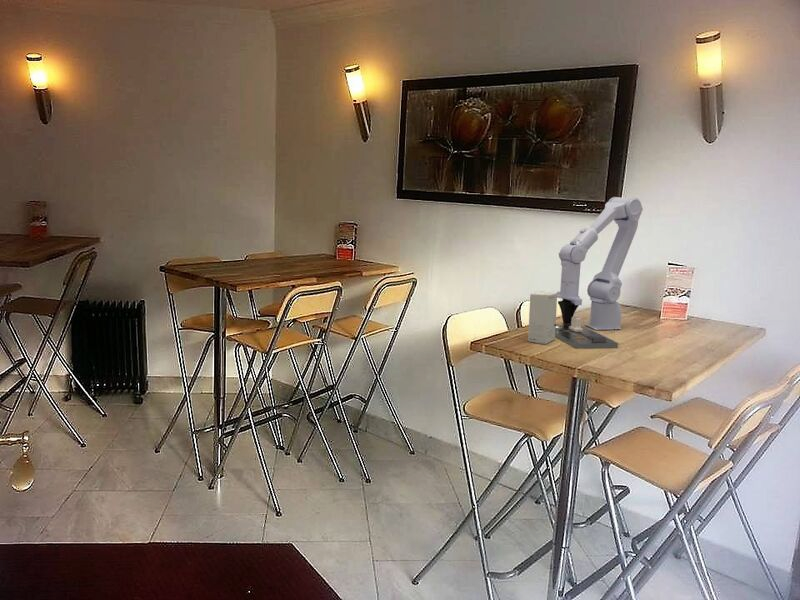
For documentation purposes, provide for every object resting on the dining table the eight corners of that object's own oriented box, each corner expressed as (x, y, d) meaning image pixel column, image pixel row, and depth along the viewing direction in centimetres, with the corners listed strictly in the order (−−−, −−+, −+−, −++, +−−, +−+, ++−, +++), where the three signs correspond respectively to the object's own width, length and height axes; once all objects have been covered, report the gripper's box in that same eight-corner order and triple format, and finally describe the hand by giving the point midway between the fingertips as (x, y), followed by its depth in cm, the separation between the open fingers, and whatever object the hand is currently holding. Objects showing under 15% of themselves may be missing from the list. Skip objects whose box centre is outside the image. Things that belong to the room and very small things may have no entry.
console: (582, 330, 196) (583, 322, 195) (617, 347, 174) (618, 338, 174) (545, 331, 193) (545, 322, 193) (576, 348, 172) (576, 338, 172)
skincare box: (545, 345, 176) (549, 295, 173) (526, 341, 179) (529, 293, 176) (555, 339, 183) (558, 291, 180) (536, 336, 186) (539, 289, 183)
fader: (576, 328, 191) (577, 316, 190) (582, 331, 187) (583, 318, 186) (568, 328, 191) (569, 316, 190) (575, 331, 186) (576, 319, 186)
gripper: (549, 278, 199) (546, 318, 201) (568, 285, 185) (565, 328, 187) (568, 278, 200) (566, 318, 202) (589, 285, 186) (586, 327, 188)
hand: (566, 322), depth 195 cm, fingers closed
